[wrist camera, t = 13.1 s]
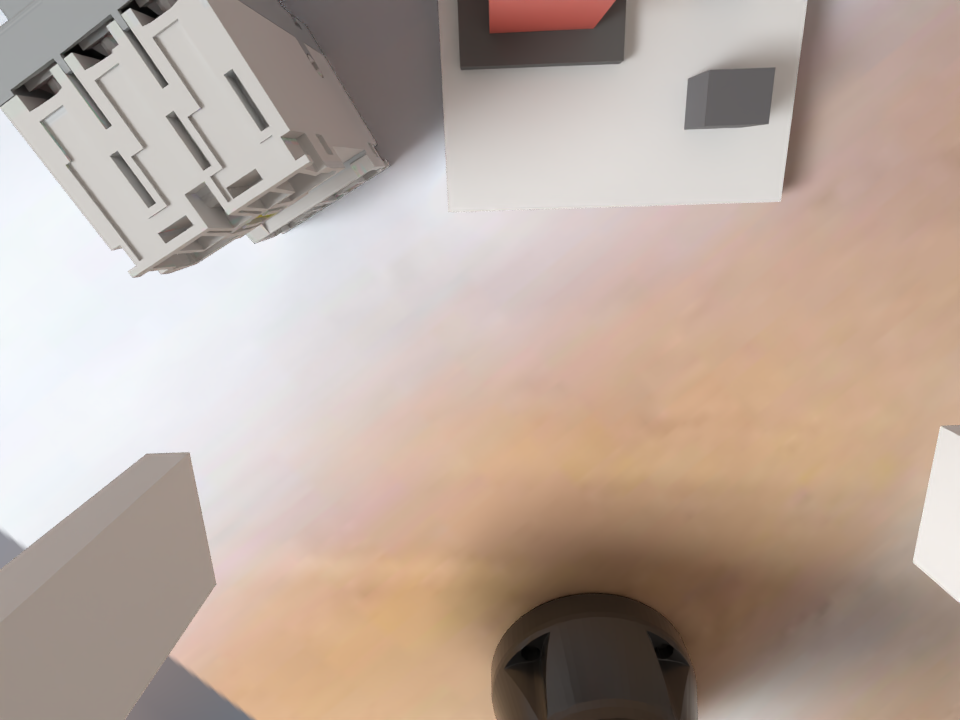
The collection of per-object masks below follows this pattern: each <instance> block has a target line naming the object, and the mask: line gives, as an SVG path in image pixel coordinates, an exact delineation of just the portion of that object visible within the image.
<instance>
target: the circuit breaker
mask: <svg viewBox="0 0 960 720" xmlns="http://www.w3.org/2000/svg"><path fill="white" fill-rule="evenodd" d="M0 9H1V10H2V12H3V13H4V14H5V16H6V17H7V19H8V21H7V22H5V23H4V24H3V25H2V26H0V108H1V110H2V111H3V112H4V114H5V115H6V116H7V117H8V119H9V120H10V121H11V122H12V124H13V125H14V126H15V128H16V129H17V130H18V131H19V133H20V134H21V135H22V137H23V138H24V139H25V140H26V142H27V143H28V144H29V146H30V147H31V148H32V149H33V151H34V152H35V153H36V155H37V156H38V157H39V158H40V160H41V161H42V162H43V164H44V165H45V166H46V167H47V169H48V170H49V171H50V173H51V174H52V175H53V176H54V178H55V179H56V180H57V181H58V183H59V184H60V185H61V187H62V188H63V189H64V190H65V192H66V193H67V194H68V196H69V197H70V198H71V199H72V201H73V202H74V203H75V205H76V206H77V207H78V208H79V210H80V211H81V212H82V214H83V215H84V216H85V217H86V219H87V220H88V221H89V223H90V224H91V225H92V226H93V228H94V229H95V230H96V232H97V233H98V234H99V235H100V237H101V238H102V239H103V241H104V242H105V243H106V244H107V246H108V247H109V248H110V249H111V251H112V250H116V249H121V248H123V250H124V251H125V252H126V253H127V255H128V256H129V257H130V259H131V260H132V261H133V262H134V264H135V265H136V266H135V267H134V268H132V269H131V270H129V271H128V273H129V274H130V275H131V276H132V278H134V277H140V276H142V275H143V274H145V273H147V272H148V271H156V270H158V272H159V273H160V274H168V273H172V272H175V271H178V270H180V269H183V268H186V267H189V266H192V265H195V264H197V263H199V262H200V261H202V260H203V259H205V258H207V257H208V256H210V255H211V254H213V253H214V252H216V251H217V250H219V249H220V248H222V247H224V246H225V245H227V244H228V243H230V242H231V241H233V240H234V239H237V238H241V237H242V236H244V235H247V236H248V237H249V238H250V240H251V241H252V242H253V243H254V244H255V243H258V242H261V241H264V240H267V239H270V238H273V237H275V236H277V235H278V234H280V233H282V234H284V233H286V232H287V231H289V230H290V229H292V228H294V227H295V226H297V225H298V224H300V223H301V222H303V221H305V220H306V219H308V218H309V217H311V216H312V215H314V214H316V213H317V212H319V211H320V210H322V209H324V208H325V207H327V206H328V205H330V204H331V203H333V202H335V201H336V200H338V199H339V198H341V197H342V196H344V195H346V194H347V193H349V192H350V191H352V190H353V189H355V188H357V187H358V186H360V185H361V184H363V183H364V182H366V181H368V180H369V179H371V178H372V177H374V176H375V175H377V174H379V173H380V172H382V171H383V170H385V169H386V168H388V167H390V165H389V163H388V161H387V160H386V159H385V160H383V161H382V159H381V158H380V156H379V154H378V153H377V151H376V149H375V148H374V146H376V145H377V143H376V141H375V140H374V138H373V136H372V135H371V133H370V131H369V130H368V128H367V126H366V125H365V123H364V121H363V120H362V118H361V116H360V115H359V113H358V111H357V110H356V108H355V106H354V105H353V103H352V101H351V100H350V98H349V96H348V95H347V93H346V91H345V90H344V88H343V86H342V85H341V83H340V81H339V80H338V78H337V76H336V75H335V73H334V71H333V70H332V68H331V66H330V65H329V63H328V61H327V59H326V58H325V56H324V54H323V53H322V51H321V49H320V48H319V46H318V44H317V43H316V41H315V39H314V38H313V36H312V34H311V33H310V31H309V29H308V28H307V26H306V25H305V24H303V23H302V22H301V21H299V20H298V19H297V18H295V17H293V18H292V16H291V14H290V13H289V12H287V11H286V10H285V9H283V7H282V6H281V5H280V3H279V2H278V0H0Z"/></svg>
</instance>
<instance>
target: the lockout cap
mask: <svg viewBox="0 0 960 720" xmlns="http://www.w3.org/2000/svg"><path fill="white" fill-rule="evenodd" d="M615 1H616V0H489V32H490V33H511V32H532V31H553V30H574V29H594V27H595V26H596V25H597V24H598V22H599V21H600V20H601V18H602V17H603V16H604V15H605V13H606V12H607V11H608V10H609V8H610V7H611V6H612V4H613V3H614V2H615Z"/></svg>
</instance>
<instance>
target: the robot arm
mask: <svg viewBox="0 0 960 720" xmlns="http://www.w3.org/2000/svg"><path fill="white" fill-rule="evenodd" d="M913 563H914V564H915V565H916V566H917V567H919V568H920V569H921V570H922V571H923V572H924V573H925V574H927V575H928V576H929V577H930V578H931V579H932V580H934V581H935V582H936V583H937V584H938V585H939V586H940V587H942V588H943V589H944V590H945V591H946V592H947V593H948V594H950V595H951V596H952V597H953V598H954V599H955V600H956V601H958V602H959V603H960V425H951V426H940V430H939V435H938V440H937V445H936V450H935V455H934V460H933V465H932V469H931V474H930V479H929V484H928V489H927V494H926V499H925V504H924V508H923V513H922V518H921V523H920V528H919V533H918V538H917V543H916V548H915V552H914V557H913ZM215 585H216V580H215V575H214V571H213V566H212V561H211V556H210V551H209V546H208V541H207V536H206V531H205V526H204V521H203V517H202V512H201V507H200V502H199V497H198V492H197V487H196V482H195V477H194V472H193V468H192V463H191V458H190V453H189V452H185V453H157V454H146V455H144V456H143V457H142V458H141V459H139V460H138V461H137V462H136V463H134V464H133V465H132V466H131V467H129V468H128V469H127V470H126V471H124V472H123V473H122V474H120V475H119V476H118V477H117V478H115V479H114V480H113V481H112V482H110V483H109V484H108V485H107V486H105V487H104V488H103V489H101V490H100V491H99V492H98V493H96V494H95V495H94V496H93V497H91V498H90V499H89V500H88V501H86V502H85V503H84V504H83V505H81V506H80V507H79V508H77V509H76V510H75V511H74V512H72V513H71V514H70V515H69V516H67V517H66V518H65V519H64V520H62V521H61V522H60V523H58V524H57V525H56V526H55V527H53V528H52V529H51V530H50V531H48V532H47V533H46V534H45V535H43V536H42V537H41V538H40V539H38V540H37V541H36V542H34V543H33V544H32V545H31V546H29V547H28V548H27V549H26V550H24V551H23V552H22V553H21V554H19V555H18V556H17V557H15V558H14V559H13V560H12V561H11V562H9V563H8V564H7V565H5V566H4V567H3V568H2V569H0V720H125V719H126V717H127V716H128V714H129V713H130V711H131V710H132V708H133V707H134V705H135V704H136V702H137V701H138V699H139V698H140V696H141V695H142V693H143V692H144V691H145V689H146V688H147V686H148V685H149V683H150V682H151V680H152V679H153V677H154V676H155V674H156V673H157V671H158V670H159V668H160V667H161V665H162V664H163V662H164V661H165V659H166V658H167V656H168V655H169V654H170V652H171V651H172V649H173V648H174V646H175V645H176V643H177V642H178V640H179V639H180V637H181V636H182V634H183V633H184V631H185V630H186V628H187V627H188V625H189V624H190V622H191V621H192V619H193V618H194V616H195V615H196V613H197V612H198V610H199V609H200V607H201V606H202V604H203V603H204V602H205V600H206V599H207V597H208V596H209V594H210V593H211V591H212V590H213V588H214V587H215ZM491 688H492V703H493V708H494V713H495V716H496V719H497V720H698V707H697V683H696V677H695V672H694V668H693V666H692V663H691V660H690V658H689V655H688V653H687V650H686V648H685V645H684V643H683V641H682V639H681V637H680V635H679V633H678V632H677V631H676V629H675V628H674V627H673V625H672V624H671V623H670V622H669V621H668V620H667V619H666V618H665V617H663V616H662V615H661V614H659V613H658V612H657V611H655V610H654V609H652V608H650V607H648V606H646V605H644V604H642V603H640V602H637V601H635V600H632V599H629V598H625V597H621V596H616V595H609V594H580V595H573V596H567V597H563V598H559V599H556V600H553V601H550V602H548V603H545V604H543V605H541V606H539V607H537V608H535V609H533V610H531V611H530V612H528V613H527V614H525V615H524V616H522V617H521V618H520V619H519V620H517V621H516V622H515V623H514V624H513V625H512V626H511V627H510V628H509V629H508V631H507V632H506V633H505V635H504V636H503V637H502V639H501V641H500V642H499V644H498V646H497V648H496V651H495V654H494V657H493V661H492V668H491Z"/></svg>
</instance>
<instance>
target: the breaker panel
mask: <svg viewBox="0 0 960 720" xmlns="http://www.w3.org/2000/svg"><path fill="white" fill-rule="evenodd" d="M806 8H807V0H616V1H615V2H614V3H613V4H612V6H611V7H610V8H609V10H608V11H607V12H606V13H605V15H604V16H603V17H602V18H601V20H600V21H599V22H598V24H597V25H596V26H595V27H594V29H574V30H553V31H532V32H511V33H490V32H489V0H438V13H439V33H440V53H441V74H442V94H443V114H444V135H445V155H446V175H447V196H448V212H478V211H508V210H539V209H570V208H601V207H631V206H662V205H693V204H724V203H754V202H781V196H782V188H783V181H784V173H785V166H786V158H787V151H788V143H789V136H790V128H791V121H792V113H793V106H794V98H795V91H796V83H797V75H798V68H799V60H800V53H801V45H802V38H803V30H804V23H805V15H806Z"/></svg>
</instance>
